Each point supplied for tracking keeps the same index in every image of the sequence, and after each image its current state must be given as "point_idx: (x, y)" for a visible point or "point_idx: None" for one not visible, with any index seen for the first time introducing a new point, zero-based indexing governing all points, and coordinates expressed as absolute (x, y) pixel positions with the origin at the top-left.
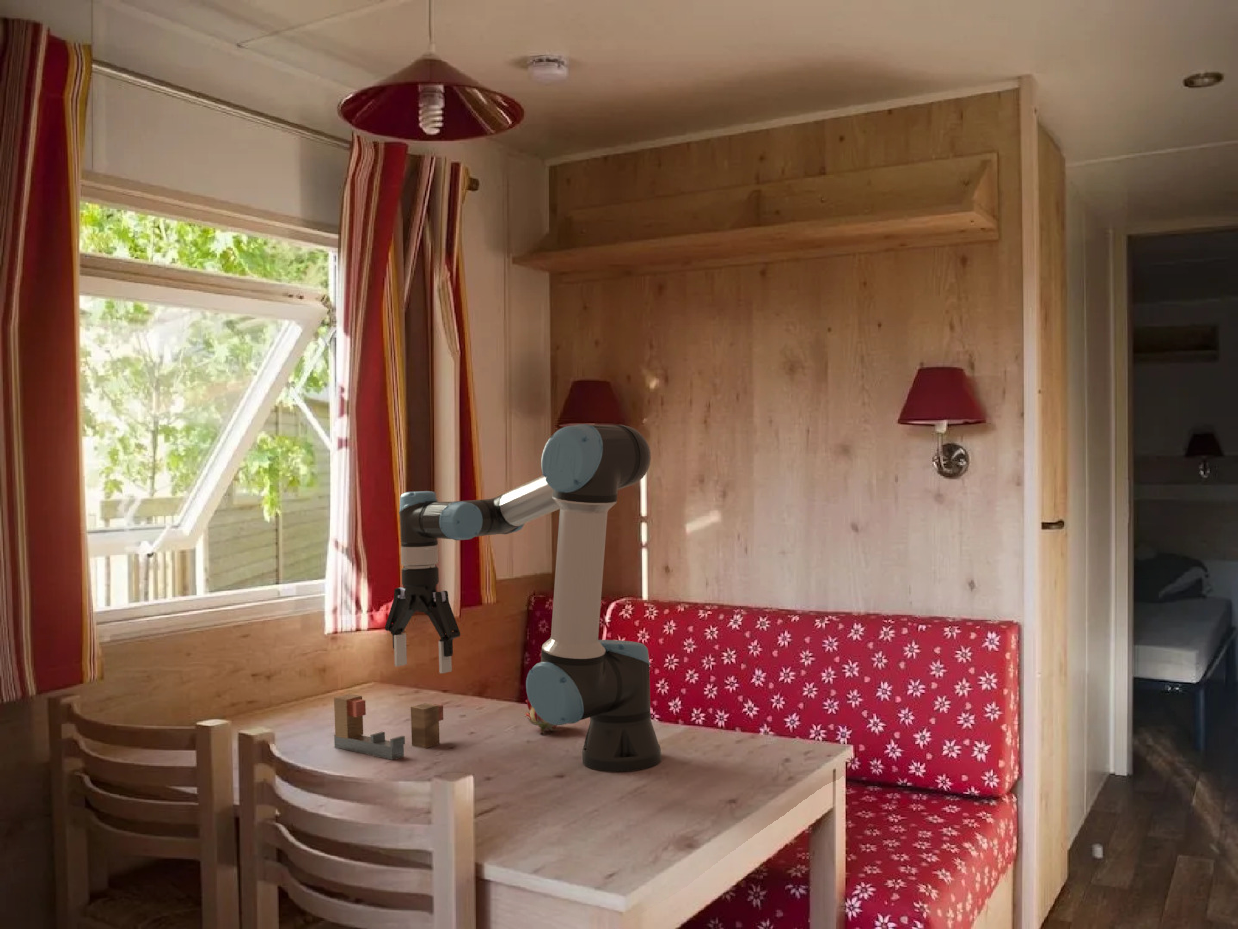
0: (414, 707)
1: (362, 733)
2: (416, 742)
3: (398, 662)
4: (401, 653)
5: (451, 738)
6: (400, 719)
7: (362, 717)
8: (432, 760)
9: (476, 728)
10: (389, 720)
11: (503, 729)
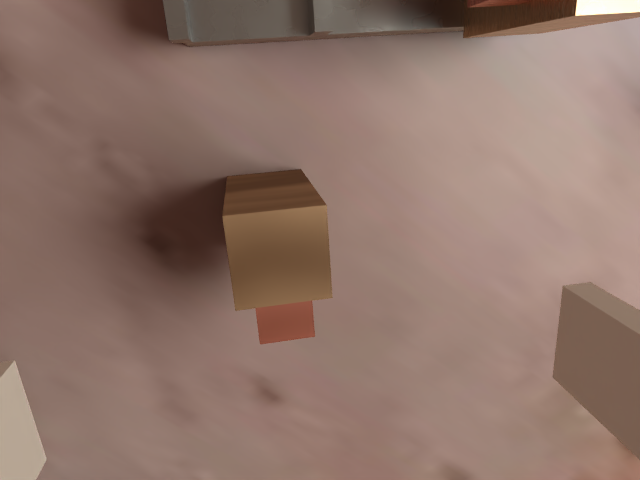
0: (300, 210)
1: (465, 32)
2: (276, 175)
3: (583, 315)
4: (635, 392)
5: None
6: None
7: (502, 28)
8: (44, 83)
9: (301, 429)
10: None
11: (219, 474)
